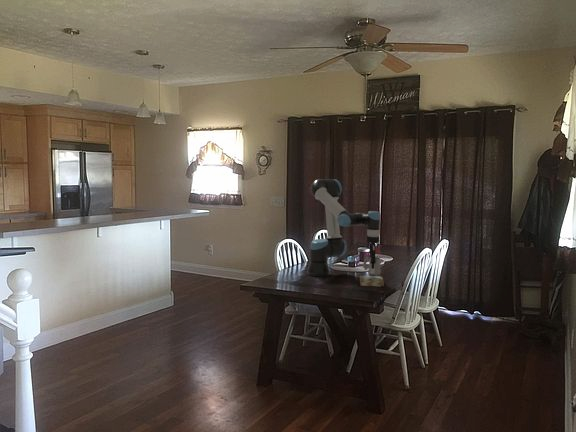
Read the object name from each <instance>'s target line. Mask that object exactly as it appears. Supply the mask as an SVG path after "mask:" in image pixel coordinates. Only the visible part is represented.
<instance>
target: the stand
mask: <svg viewBox="0 0 576 432" xmlns="http://www.w3.org/2000/svg"><path fill="white" fill-rule="evenodd" d="M359 284H360V286H361V287H362V286H363V287H381V286H383V287H385V281H384V279H383V276H379V275H375V276H374V275H359ZM383 287H382V288H383Z"/></svg>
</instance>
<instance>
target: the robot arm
mask: <svg viewBox="0 0 576 432" xmlns="http://www.w3.org/2000/svg"><path fill="white" fill-rule="evenodd" d="M342 190H343V188H342V183H341V181H339V180H338V179H333V178H317V179H315V180H314V181H313V182H311V185H310V193H311V194H312V196H313V197H314V199H315V200H317V201H319V202H321V203H322V204H323V205H324V209H325V221H326V233H327V236H325V238H317V239H313V240H312V241H311V242H310V256H309V259H310V260H309V265H308V267H307V275H309V276H312V277H328V276H330V274H331V271H330V266H329V264H328V259H329V258H339V257H342V256H344V255H345V253H346V252H347V248H348V246H347V242H346V240H345V239H343V236H342V235H341V232H340V231H341V230H340V227H352V226H353V227H354V226H366V227H367V228H366V235H367V236H366V243H369V245H368V246H369V258H370V257H371V262H370V261H369V262H370V263H371V265H370V264H369V263H368V264H369V265H370V274H369V275H374V274H375V257H376V252H377V245H376V244H378V243H380V233H381V231H380V228H381V227H380V226H381V223H380V222H381V213H380V212H379V211H375V210H370V211H368V212H367V213H363V212H356V213H350V212H348V210H347V209H345V208H344V206H343V205H342V204H341V203H339V201H338V200H339V198H340V195H341V194H342ZM369 265H368V266H369Z"/></svg>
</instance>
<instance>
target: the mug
mask: <svg viewBox="0 0 576 432" xmlns="http://www.w3.org/2000/svg"><path fill="white" fill-rule="evenodd" d="M369 257H370V255H369V254H368V253H365V257H364V260H363V263H362V265H363V268H364V269H363V270H365V271H367V270H368V274H369V275H371V274H370V265H371V263H370V262H371V257H370V258H369ZM367 261H369V262H368V264H370V265H367ZM381 263H382V262H381V257H378V256H377V257H376V256H375V274H373V276H374V275H375V276H379V275H380V274H381V272H382V271H381V265H382V264H381Z"/></svg>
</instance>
